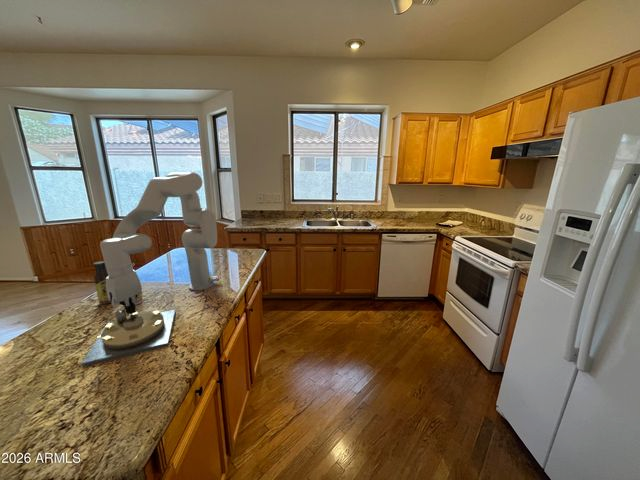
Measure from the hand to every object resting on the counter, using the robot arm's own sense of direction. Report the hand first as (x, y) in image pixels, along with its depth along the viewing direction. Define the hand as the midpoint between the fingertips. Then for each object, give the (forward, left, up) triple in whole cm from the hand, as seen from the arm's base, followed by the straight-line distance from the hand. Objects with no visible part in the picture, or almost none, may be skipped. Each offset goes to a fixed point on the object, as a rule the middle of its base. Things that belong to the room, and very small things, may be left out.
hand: (131, 312), depth 100 cm
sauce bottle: (+17, -29, -6) cm, 34 cm away
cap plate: (-2, +8, -6) cm, 10 cm away
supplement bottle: (+5, -22, -6) cm, 23 cm away
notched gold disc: (-2, +8, -4) cm, 9 cm away
